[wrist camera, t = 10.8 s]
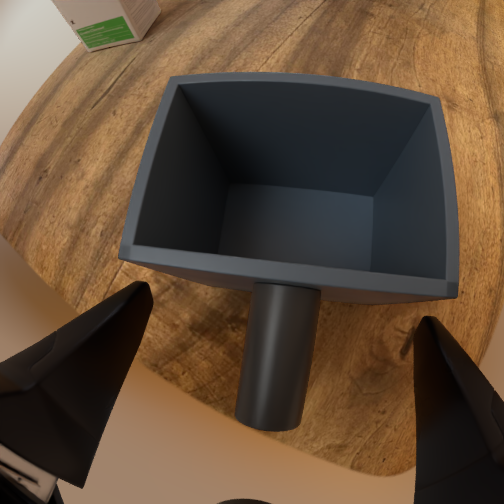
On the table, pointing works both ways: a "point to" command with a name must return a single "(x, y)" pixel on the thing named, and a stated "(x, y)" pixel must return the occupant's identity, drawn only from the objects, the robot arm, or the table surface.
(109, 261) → the table surface
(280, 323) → the grey box with peg
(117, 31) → the cosmetic box
